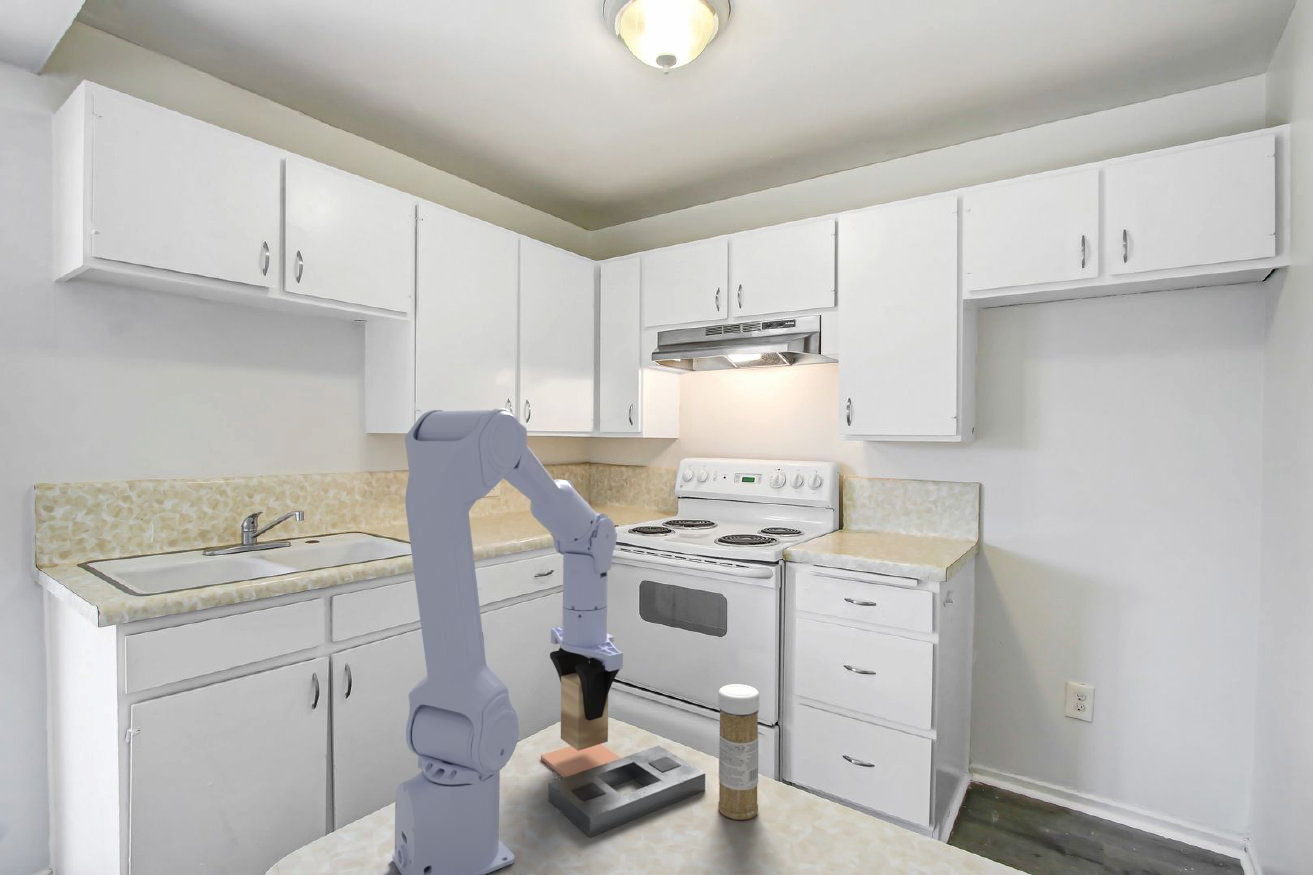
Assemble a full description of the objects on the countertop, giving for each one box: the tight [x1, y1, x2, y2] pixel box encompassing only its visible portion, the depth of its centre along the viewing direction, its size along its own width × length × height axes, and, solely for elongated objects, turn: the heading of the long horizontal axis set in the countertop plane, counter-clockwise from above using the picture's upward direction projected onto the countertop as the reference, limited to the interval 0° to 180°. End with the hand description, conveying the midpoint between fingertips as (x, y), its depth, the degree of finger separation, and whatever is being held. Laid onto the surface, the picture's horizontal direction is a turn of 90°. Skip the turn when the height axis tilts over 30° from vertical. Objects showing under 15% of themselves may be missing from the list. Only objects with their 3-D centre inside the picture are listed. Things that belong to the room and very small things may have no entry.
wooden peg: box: [560, 673, 609, 751], centre depth 85 cm, size 4×4×8 cm
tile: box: [540, 744, 622, 778], centre depth 85 cm, size 8×8×1 cm
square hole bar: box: [547, 745, 706, 838], centre depth 77 cm, size 16×9×2 cm, turn 127°
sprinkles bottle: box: [717, 683, 760, 821], centre depth 74 cm, size 5×5×14 cm
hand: (584, 711), depth 85 cm, fingers closed on wooden peg, 4 cm apart
